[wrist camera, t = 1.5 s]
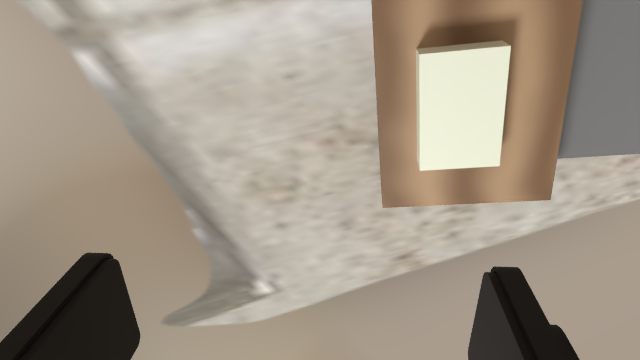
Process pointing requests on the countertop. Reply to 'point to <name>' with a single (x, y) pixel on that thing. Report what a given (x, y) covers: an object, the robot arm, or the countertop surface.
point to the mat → (604, 82)
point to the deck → (521, 98)
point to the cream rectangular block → (461, 104)
